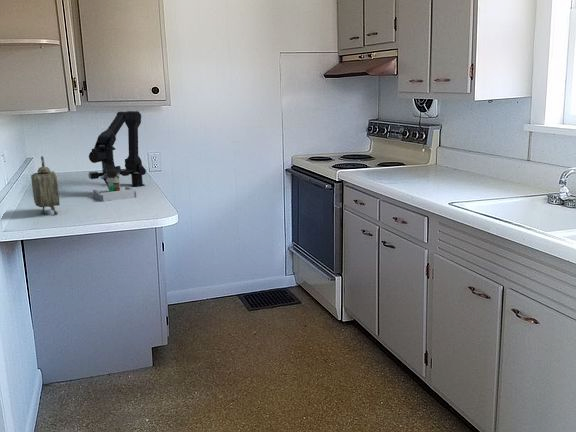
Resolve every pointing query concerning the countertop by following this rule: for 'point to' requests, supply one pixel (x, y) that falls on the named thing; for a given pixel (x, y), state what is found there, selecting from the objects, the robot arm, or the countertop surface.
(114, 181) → the food container
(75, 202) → the countertop surface
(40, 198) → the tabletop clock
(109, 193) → the frame
